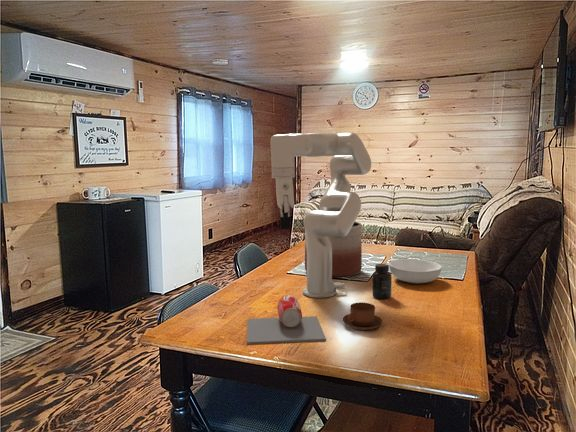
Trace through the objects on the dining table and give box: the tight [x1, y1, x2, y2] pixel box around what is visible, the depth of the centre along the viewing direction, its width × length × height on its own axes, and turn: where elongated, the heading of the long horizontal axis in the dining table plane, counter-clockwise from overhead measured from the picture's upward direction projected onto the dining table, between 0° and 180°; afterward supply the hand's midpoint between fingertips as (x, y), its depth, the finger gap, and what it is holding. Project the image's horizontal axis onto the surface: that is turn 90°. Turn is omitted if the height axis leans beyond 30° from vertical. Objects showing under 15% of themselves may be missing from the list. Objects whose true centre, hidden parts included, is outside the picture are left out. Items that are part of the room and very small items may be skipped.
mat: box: [246, 315, 327, 345], centre depth 131 cm, size 22×18×1 cm
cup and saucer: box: [342, 301, 383, 331], centre depth 134 cm, size 12×12×6 cm
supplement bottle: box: [372, 263, 393, 300], centre depth 161 cm, size 7×7×12 cm
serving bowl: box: [388, 258, 443, 285], centre depth 183 cm, size 21×21×7 cm
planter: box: [304, 221, 363, 279], centre depth 197 cm, size 25×25×22 cm
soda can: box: [277, 294, 303, 327], centre depth 135 cm, size 7×7×12 cm
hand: (285, 228), depth 146 cm, fingers closed
